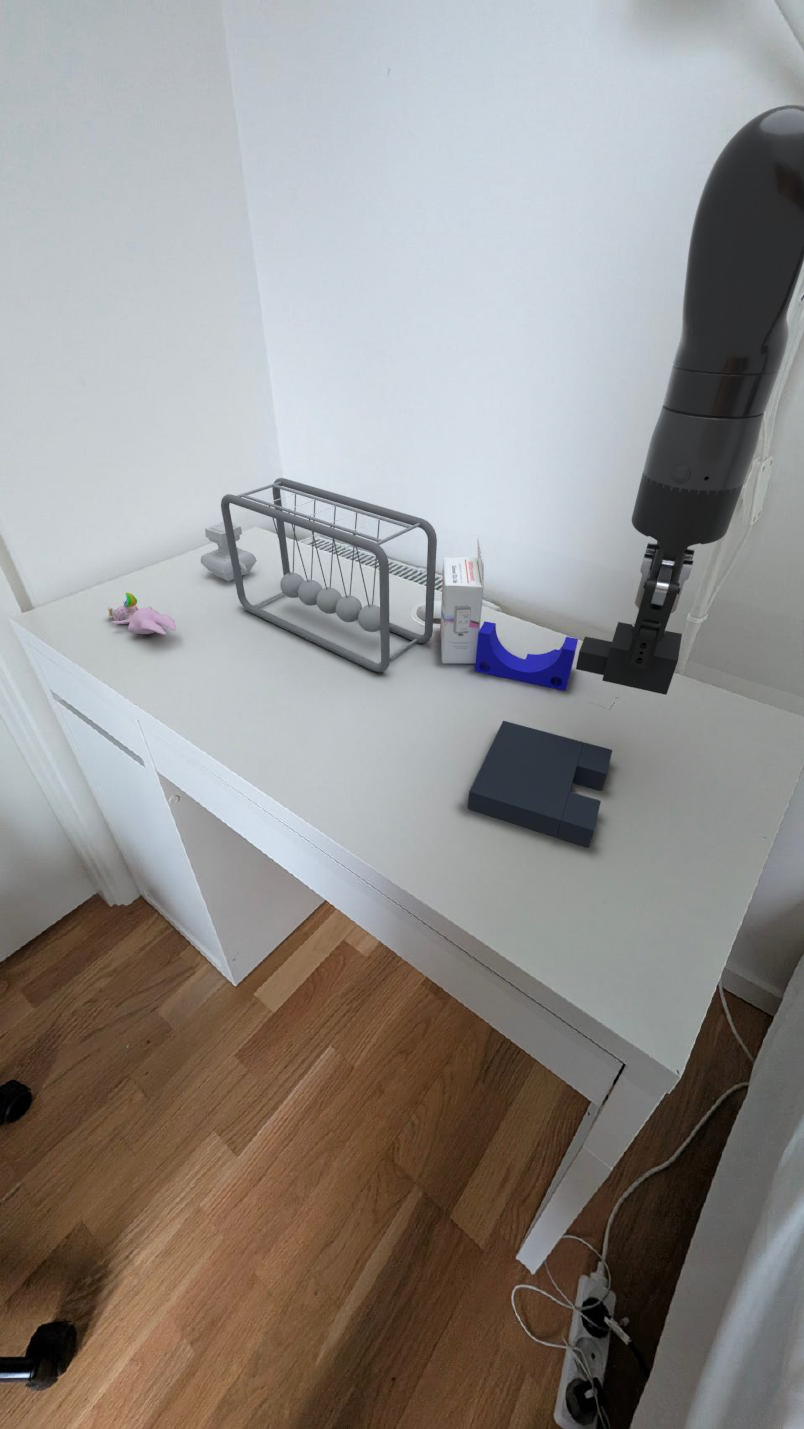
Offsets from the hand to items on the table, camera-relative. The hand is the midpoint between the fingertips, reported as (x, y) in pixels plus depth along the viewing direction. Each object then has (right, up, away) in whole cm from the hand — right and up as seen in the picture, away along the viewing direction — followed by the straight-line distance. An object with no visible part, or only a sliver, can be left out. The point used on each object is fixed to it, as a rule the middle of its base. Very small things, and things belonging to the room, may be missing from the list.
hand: (640, 652), depth 56 cm
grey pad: (-9, -14, +4) cm, 17 cm away
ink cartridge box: (-16, +3, +25) cm, 30 cm away
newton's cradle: (-34, +7, +30) cm, 45 cm away
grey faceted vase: (-53, +18, +43) cm, 70 cm away
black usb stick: (-1, -2, +2) cm, 3 cm away
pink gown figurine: (-61, +6, +28) cm, 67 cm away
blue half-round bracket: (-7, -1, +21) cm, 22 cm away
